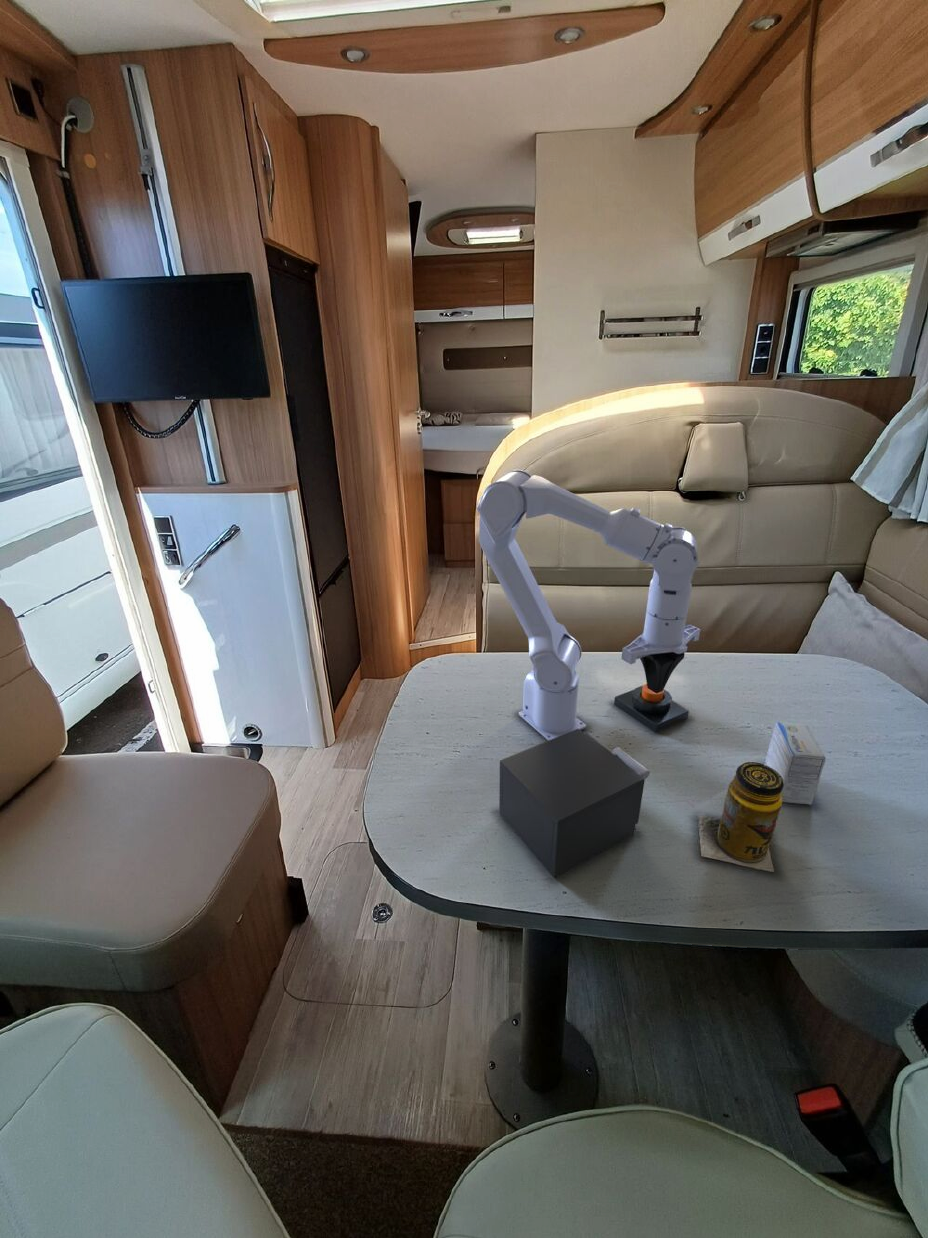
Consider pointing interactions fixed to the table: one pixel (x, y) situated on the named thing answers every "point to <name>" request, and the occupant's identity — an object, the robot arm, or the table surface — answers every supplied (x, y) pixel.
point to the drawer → (629, 767)
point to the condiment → (745, 819)
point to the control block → (651, 709)
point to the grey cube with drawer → (568, 800)
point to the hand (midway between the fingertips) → (654, 689)
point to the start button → (651, 694)
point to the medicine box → (796, 761)
